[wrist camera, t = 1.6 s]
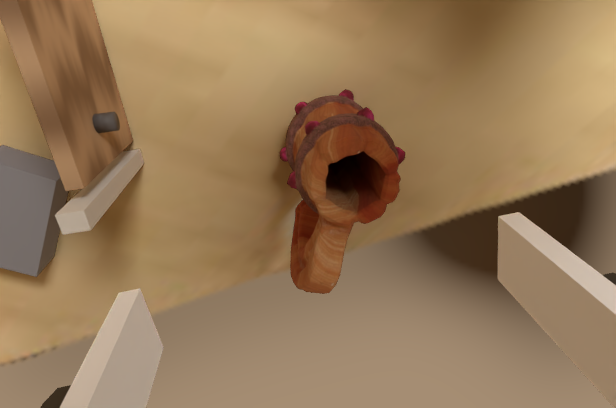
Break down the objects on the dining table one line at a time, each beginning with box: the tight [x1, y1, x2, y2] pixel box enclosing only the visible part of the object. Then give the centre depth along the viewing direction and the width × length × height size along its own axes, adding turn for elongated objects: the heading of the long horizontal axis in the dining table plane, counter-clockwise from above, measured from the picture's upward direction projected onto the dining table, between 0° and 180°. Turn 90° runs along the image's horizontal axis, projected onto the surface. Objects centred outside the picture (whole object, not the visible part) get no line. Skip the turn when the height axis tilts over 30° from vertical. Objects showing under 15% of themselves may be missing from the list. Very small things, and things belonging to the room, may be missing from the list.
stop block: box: [0, 145, 68, 277], centre depth 40 cm, size 10×6×4 cm, turn 158°
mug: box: [280, 90, 405, 294], centre depth 35 cm, size 15×8×15 cm, turn 161°
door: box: [0, 0, 133, 191], centre depth 31 cm, size 12×3×12 cm, turn 7°
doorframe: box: [55, 149, 144, 235], centre depth 30 cm, size 20×2×14 cm, turn 7°
